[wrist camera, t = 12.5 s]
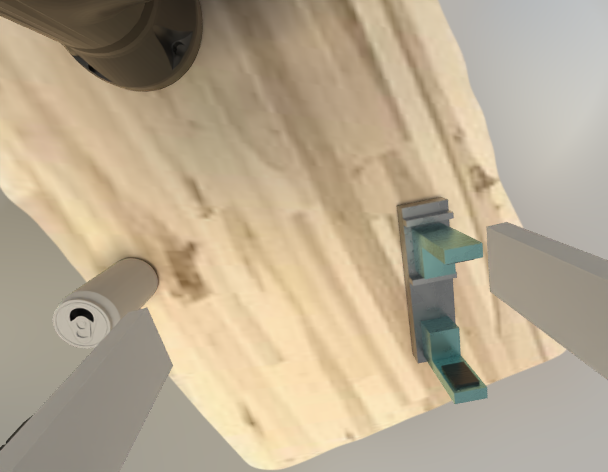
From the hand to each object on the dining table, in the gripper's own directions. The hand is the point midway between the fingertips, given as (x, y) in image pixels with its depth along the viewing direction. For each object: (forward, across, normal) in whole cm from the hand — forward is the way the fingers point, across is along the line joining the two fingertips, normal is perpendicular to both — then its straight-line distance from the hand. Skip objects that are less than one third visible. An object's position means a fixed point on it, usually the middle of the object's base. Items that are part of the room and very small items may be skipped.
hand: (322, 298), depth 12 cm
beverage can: (+30, -25, -7) cm, 40 cm away
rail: (+30, +15, -18) cm, 38 cm away
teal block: (+28, +15, -12) cm, 34 cm away
